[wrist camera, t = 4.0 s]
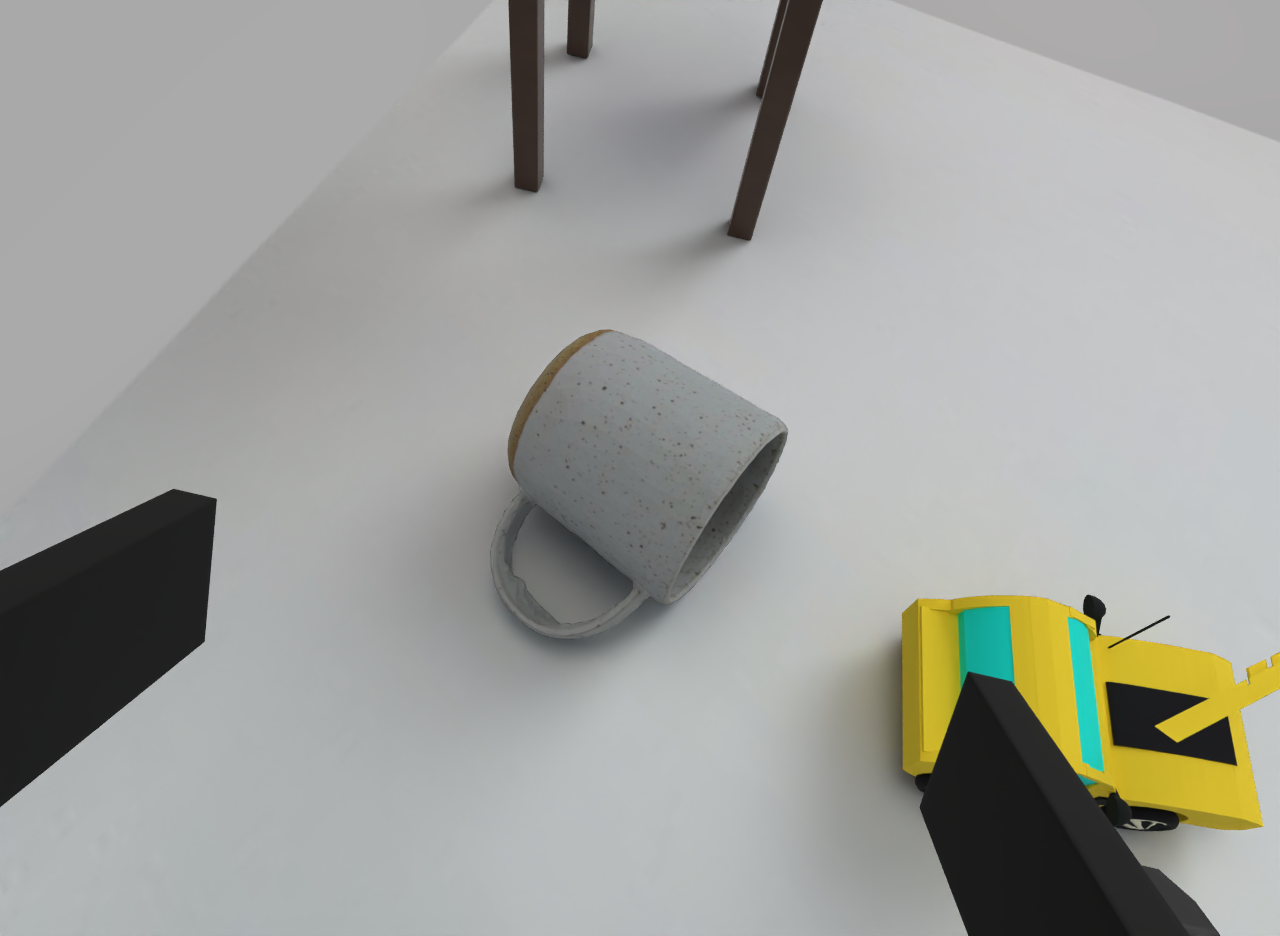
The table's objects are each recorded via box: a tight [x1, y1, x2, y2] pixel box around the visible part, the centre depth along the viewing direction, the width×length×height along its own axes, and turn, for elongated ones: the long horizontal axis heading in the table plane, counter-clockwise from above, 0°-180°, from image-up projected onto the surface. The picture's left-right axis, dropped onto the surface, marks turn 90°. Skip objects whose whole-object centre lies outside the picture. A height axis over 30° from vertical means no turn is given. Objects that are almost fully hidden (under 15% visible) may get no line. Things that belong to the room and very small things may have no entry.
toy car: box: [902, 595, 1280, 831], centre depth 28 cm, size 12×8×8 cm, turn 82°
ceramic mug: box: [490, 330, 788, 639], centre depth 31 cm, size 11×8×8 cm
